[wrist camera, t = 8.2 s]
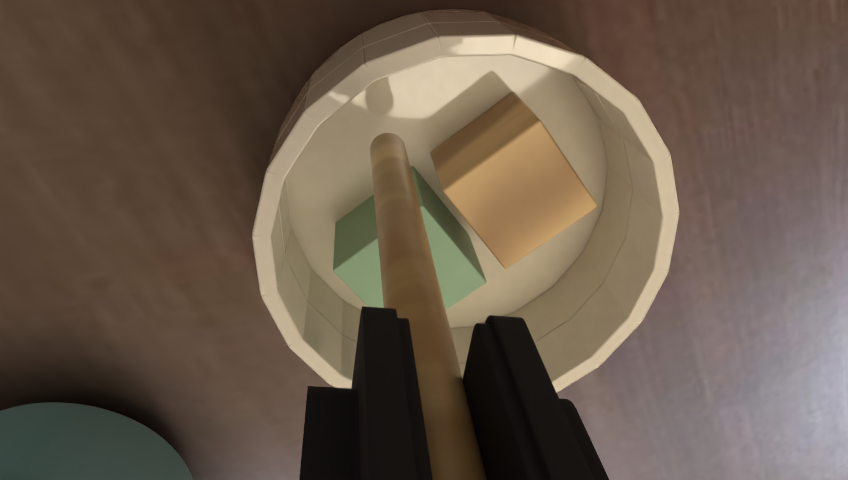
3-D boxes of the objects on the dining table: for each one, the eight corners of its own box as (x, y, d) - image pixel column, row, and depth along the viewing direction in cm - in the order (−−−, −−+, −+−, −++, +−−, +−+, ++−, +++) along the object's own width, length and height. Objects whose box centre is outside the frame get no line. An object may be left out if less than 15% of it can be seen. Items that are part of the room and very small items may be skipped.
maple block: (428, 152, 25) (441, 191, 22) (512, 89, 24) (540, 119, 21) (484, 224, 27) (505, 270, 23) (565, 167, 26) (599, 207, 22)
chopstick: (362, 146, 22) (399, 800, 5) (390, 125, 21) (515, 742, 5) (384, 172, 22) (477, 842, 6) (412, 152, 22) (586, 790, 6)
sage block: (334, 222, 26) (332, 270, 23) (412, 164, 25) (422, 205, 22) (394, 287, 28) (401, 341, 24) (469, 234, 27) (487, 282, 23)
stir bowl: (198, 162, 25) (157, 228, 20) (493, -78, 22) (538, -76, 17) (413, 378, 31) (426, 474, 26) (669, 210, 28) (742, 278, 23)
